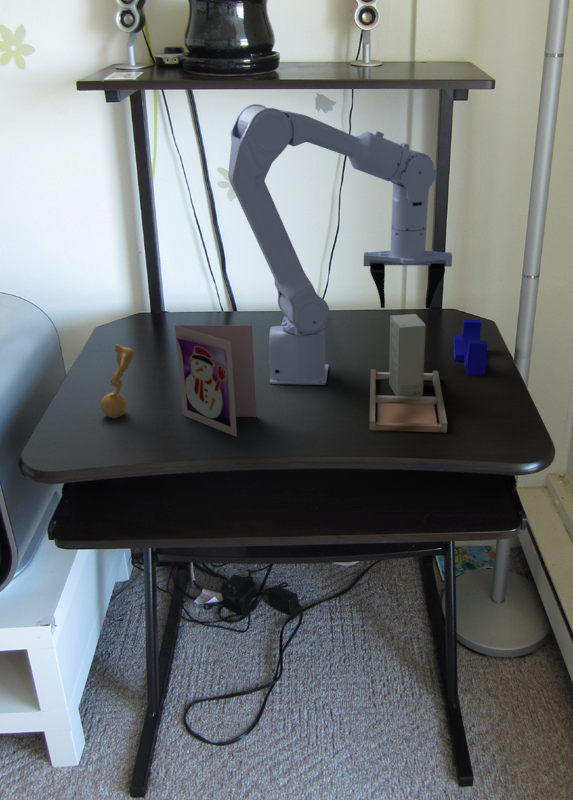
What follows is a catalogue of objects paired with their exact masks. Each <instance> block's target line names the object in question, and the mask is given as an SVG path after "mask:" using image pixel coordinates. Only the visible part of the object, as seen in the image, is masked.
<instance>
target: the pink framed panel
mask: <svg viewBox="0 0 573 800" xmlns="http://www.w3.org/2000/svg"><path fill="white" fill-rule="evenodd" d="M376 380H389V371H388V372H387V371H386V372H385V371H376V369H375V368H371V369H370V387H369V388H370V389H369V390H370V391H369V396H370V397H369V426H368V427H369V431H386V432H387V431H389V432H390V431H391V432H392V431H393V432H394V431H395V432H421V433H423V432H424V433H447V432H448V420H447V414H446V409H445V403H444V397H443V392H442V386H441V382H440V381H441V380H440V376H439V371H438V370H432V372H431V373H430V372H424V379H423V381H432V385H433V390H434V396H424V395H423V396H396V395H384V394H383V395H382V394H381V395H379V394H378V395H377V394H376ZM376 404H377V421H376ZM435 405H436V407H435ZM436 411H437V413H436ZM437 414H438V415H437ZM437 416H438V419H437Z"/></svg>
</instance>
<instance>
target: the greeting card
mask: <svg viewBox="0 0 573 800" xmlns="http://www.w3.org/2000/svg"><path fill="white" fill-rule="evenodd" d="M174 330H175V331H174V332H175V333H174V334H175V341H176V342H175V343H176V351H177V352H176V353H177V363H178V372H179V381H180V383H179V384H180V391H181V392H180V394H181V402H182V403H181V404H182V413H183V416H184V417H187V418H189V419H191V420H193V421H197V422H199V423H201V424H204V425H207V426H208V427H211V428H214V429H216V430H219V431H221V432H224V433H226V434H228V435H231V436H233V437H236V438H238V433H237V431H238V430H237V417H239V418H240V417H241V418H242V417H248V418H251V417H252V418H256V417H257V403H256V401H257V400H256V399H257V398H256V382H255V359H254V345H253V342H254V341H253V340H254V339H253V326H252V325H243V324H242V325H238V324H237V325H235V324H234V325H230V324H229V325H224V324H223V325H221V324H220V325H219V324H215V325H211V324H209V325H208V324H205V325H204V324H200V325H199V324H192V325H191V324H188V325H187V324H175V325H174Z"/></svg>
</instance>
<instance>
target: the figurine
mask: <svg viewBox="0 0 573 800" xmlns="http://www.w3.org/2000/svg"><path fill="white" fill-rule="evenodd" d="M113 350H114V352H115V353H116V362H117V365H118V368H117V369H116V370H115V372H113V374H112V377H111V378H110V380H109V381H110V384H111V385H110V386H112V387H114V388H115V389H114V390H111V392H109V393H107V394H105V395H104V396H103V397H102V398H101V400H100V409H101V411H102V413H103V414H104V415H105V416H106V417H108V418H111V419H116V418H117V419H118V418H119V417H122V416H123V415H124V414H126V411H127V410H128V409H127V408H128V402H127V399H126V398H125V396H124V395H123V394H121V393H120V391H121V388H122V386H123V381H122V380H121V379H122V377H123V375H124V373H125V372H126V371H127V370H128V368H129V365H130V363H132V360H133V358H134V356H135V355H134V354H135V352H134V350H133V348H131V347H125V346H123V345H121V344H118V343H117V344H115V345H114V349H113Z"/></svg>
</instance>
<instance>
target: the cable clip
mask: <svg viewBox="0 0 573 800" xmlns="http://www.w3.org/2000/svg"><path fill="white" fill-rule="evenodd" d="M481 329H482V321H481V319H462V330H461V331H462V332H461V334H453V338H452V339H453V340H452V354H453V358H454V362H463V363H464V364H463V366H464V370H465V373H466V375H467V376H480V377H481V376H482V377H484V376H486V366H487V356H488V348H489V344H488V340H481Z"/></svg>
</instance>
